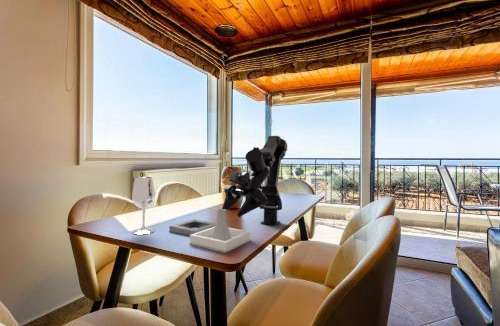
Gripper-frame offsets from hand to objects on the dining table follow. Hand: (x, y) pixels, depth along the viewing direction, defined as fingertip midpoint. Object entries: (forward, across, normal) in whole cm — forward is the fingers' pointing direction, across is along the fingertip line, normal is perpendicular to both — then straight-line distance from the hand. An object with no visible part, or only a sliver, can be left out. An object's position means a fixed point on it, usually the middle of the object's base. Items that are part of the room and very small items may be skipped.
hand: (229, 213), depth 87 cm
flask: (+8, 0, +4) cm, 9 cm away
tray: (+9, 0, +4) cm, 10 cm away
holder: (+9, -18, +4) cm, 20 cm away
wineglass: (+21, -27, -8) cm, 35 cm away
